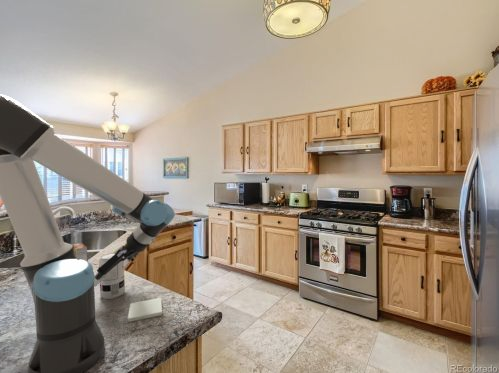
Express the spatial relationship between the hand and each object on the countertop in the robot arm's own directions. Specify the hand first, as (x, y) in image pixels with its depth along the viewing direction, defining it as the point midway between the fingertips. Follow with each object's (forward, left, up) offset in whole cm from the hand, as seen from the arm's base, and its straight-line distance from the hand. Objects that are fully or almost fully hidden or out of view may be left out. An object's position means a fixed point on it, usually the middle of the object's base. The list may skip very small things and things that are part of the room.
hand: (106, 276), depth 95 cm
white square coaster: (-18, -14, -7) cm, 24 cm away
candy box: (+20, +13, -7) cm, 25 cm away
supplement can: (-1, -2, -7) cm, 8 cm away
